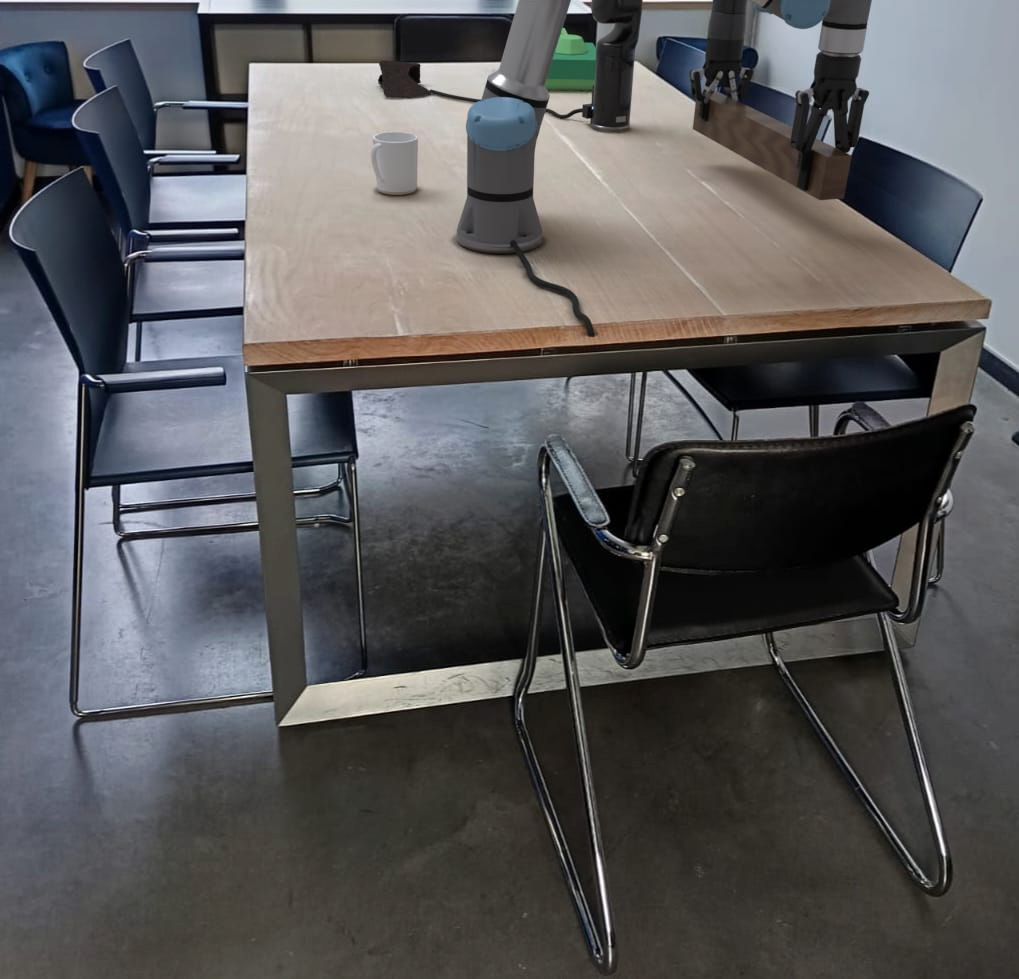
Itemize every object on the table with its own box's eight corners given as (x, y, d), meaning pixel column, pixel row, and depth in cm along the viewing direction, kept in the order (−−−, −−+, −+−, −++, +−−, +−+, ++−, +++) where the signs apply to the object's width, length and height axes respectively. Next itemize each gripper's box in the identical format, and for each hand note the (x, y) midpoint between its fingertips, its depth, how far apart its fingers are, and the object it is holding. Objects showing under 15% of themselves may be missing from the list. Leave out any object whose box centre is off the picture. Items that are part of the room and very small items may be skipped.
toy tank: (590, 24, 327) (604, 45, 297) (588, 68, 333) (601, 92, 303) (531, 23, 326) (539, 44, 296) (530, 67, 332) (538, 91, 302)
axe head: (443, 87, 294) (392, 77, 287) (436, 115, 299) (385, 106, 292) (421, 62, 307) (371, 52, 300) (414, 89, 311) (365, 80, 304)
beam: (843, 198, 197) (852, 155, 193) (819, 200, 195) (827, 156, 191) (713, 128, 240) (717, 91, 236) (692, 129, 239) (696, 92, 235)
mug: (396, 180, 226) (394, 129, 221) (428, 188, 221) (427, 137, 216) (358, 191, 219) (355, 139, 214) (389, 200, 214) (387, 147, 209)
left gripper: (872, 47, 194) (848, 179, 206) (782, 50, 189) (762, 184, 201) (897, 55, 187) (870, 190, 200) (804, 58, 183) (782, 196, 195)
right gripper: (748, 31, 229) (738, 114, 238) (686, 32, 225) (677, 117, 234) (766, 37, 223) (754, 122, 232) (702, 39, 219) (692, 126, 228)
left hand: (816, 187), depth 200 cm, fingers closed on beam, 5 cm apart
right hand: (715, 119), depth 233 cm, fingers closed on beam, 5 cm apart
